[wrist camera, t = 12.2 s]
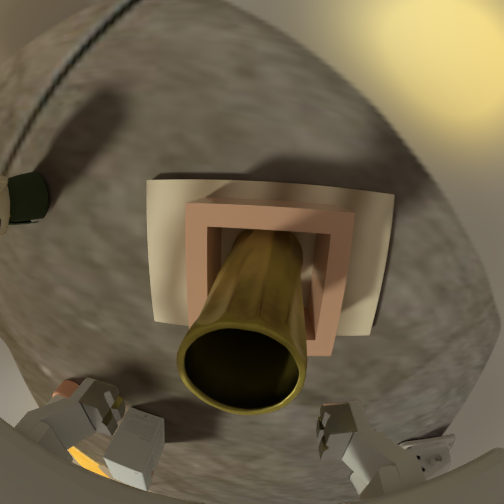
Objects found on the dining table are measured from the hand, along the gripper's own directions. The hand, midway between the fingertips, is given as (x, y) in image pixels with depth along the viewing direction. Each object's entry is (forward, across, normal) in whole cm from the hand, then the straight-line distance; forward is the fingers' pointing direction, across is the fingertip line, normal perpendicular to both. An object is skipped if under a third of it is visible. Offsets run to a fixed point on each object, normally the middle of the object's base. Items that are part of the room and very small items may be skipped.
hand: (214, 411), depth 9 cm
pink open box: (+16, -2, -1) cm, 16 cm away
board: (+17, -2, -1) cm, 17 cm away
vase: (+15, -2, -2) cm, 16 cm away
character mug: (+17, +26, -8) cm, 32 cm away
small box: (+17, +15, +26) cm, 35 cm away
